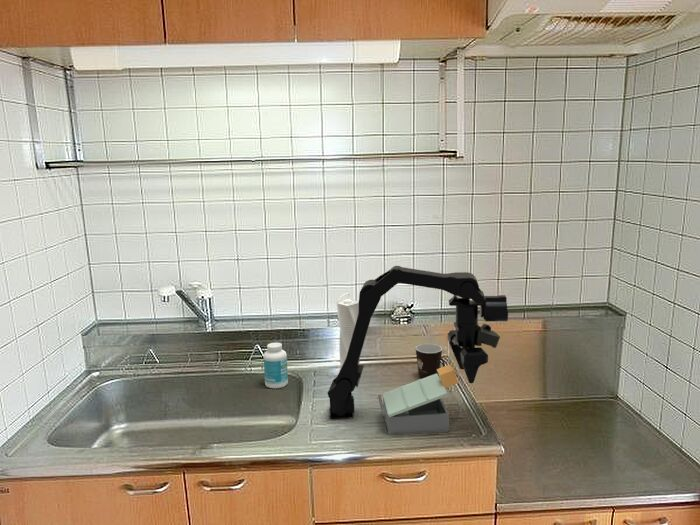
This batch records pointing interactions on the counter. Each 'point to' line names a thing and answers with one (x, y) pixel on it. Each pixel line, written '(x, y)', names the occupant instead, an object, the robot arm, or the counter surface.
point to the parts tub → (418, 419)
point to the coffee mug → (428, 359)
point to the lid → (420, 391)
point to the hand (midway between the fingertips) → (466, 375)
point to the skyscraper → (346, 324)
